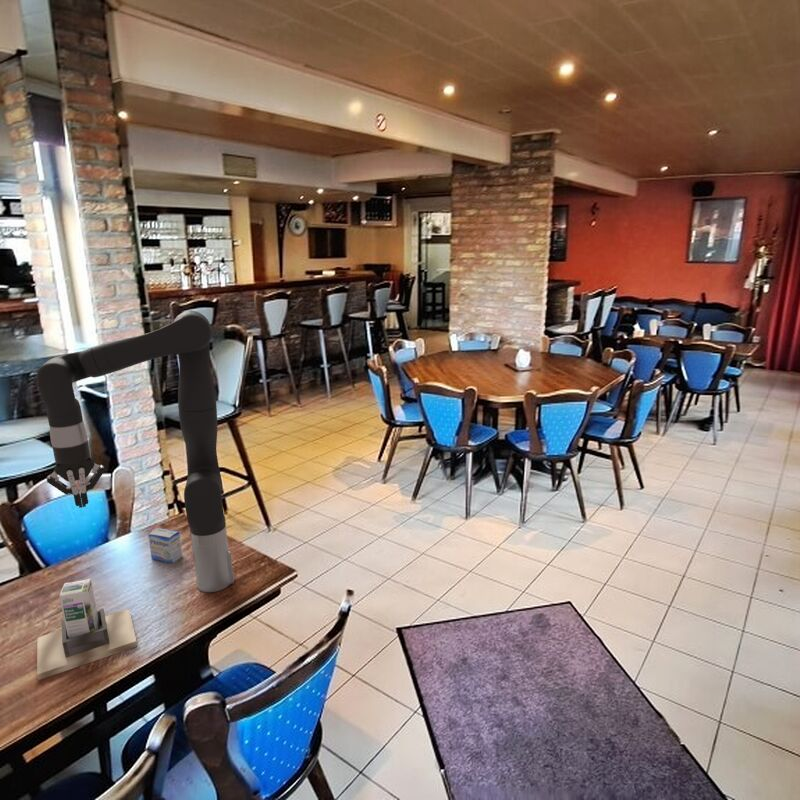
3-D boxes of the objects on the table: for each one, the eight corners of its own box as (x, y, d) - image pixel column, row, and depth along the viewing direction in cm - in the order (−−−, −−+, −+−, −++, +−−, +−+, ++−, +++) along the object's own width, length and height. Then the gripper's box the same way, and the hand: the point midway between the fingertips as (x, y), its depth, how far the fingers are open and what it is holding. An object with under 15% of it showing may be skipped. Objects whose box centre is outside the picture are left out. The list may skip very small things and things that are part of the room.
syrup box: (69, 650, 130) (58, 596, 126) (74, 634, 135) (63, 581, 131) (97, 644, 132) (86, 591, 128) (101, 628, 137) (91, 576, 133)
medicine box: (151, 559, 169) (147, 534, 167) (161, 552, 173) (157, 527, 171) (173, 563, 167) (169, 537, 164) (183, 556, 171) (179, 530, 169)
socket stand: (129, 614, 145) (126, 595, 143) (137, 646, 133) (134, 626, 132) (38, 642, 135) (34, 623, 133) (38, 680, 123) (33, 659, 122)
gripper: (99, 431, 142) (110, 494, 146) (37, 441, 135) (51, 507, 140) (102, 439, 135) (113, 505, 140) (37, 451, 129) (51, 519, 134)
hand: (82, 506), depth 140 cm, fingers closed
